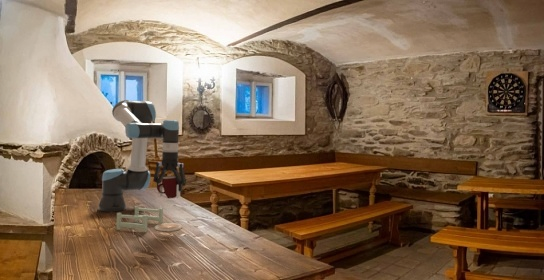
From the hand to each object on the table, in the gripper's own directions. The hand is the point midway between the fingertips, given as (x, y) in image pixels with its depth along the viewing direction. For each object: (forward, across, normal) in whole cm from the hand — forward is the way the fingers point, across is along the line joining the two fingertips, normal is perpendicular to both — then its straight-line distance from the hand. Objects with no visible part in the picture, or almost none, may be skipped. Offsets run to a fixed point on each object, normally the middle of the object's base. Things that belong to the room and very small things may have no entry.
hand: (169, 196), depth 202 cm
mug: (+1, 0, 0) cm, 1 cm away
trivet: (+15, 0, 0) cm, 15 cm away
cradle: (+15, -14, -2) cm, 21 cm away
